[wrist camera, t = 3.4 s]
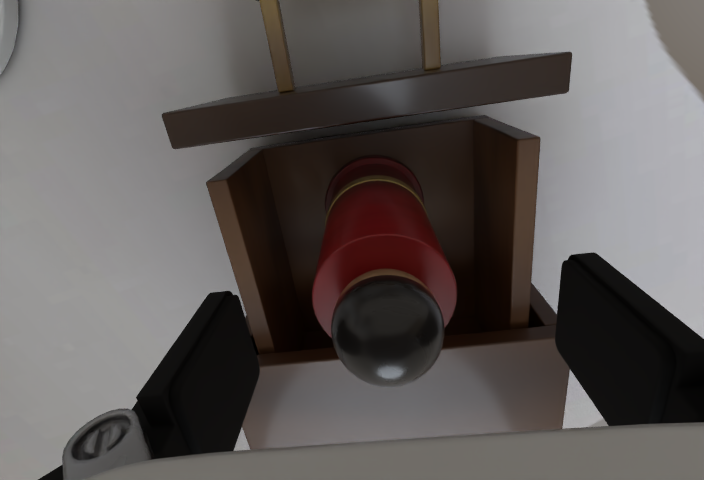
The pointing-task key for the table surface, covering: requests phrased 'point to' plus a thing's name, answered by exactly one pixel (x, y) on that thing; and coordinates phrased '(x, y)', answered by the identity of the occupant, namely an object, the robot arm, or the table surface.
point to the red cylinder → (382, 274)
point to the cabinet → (415, 391)
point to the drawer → (398, 143)
